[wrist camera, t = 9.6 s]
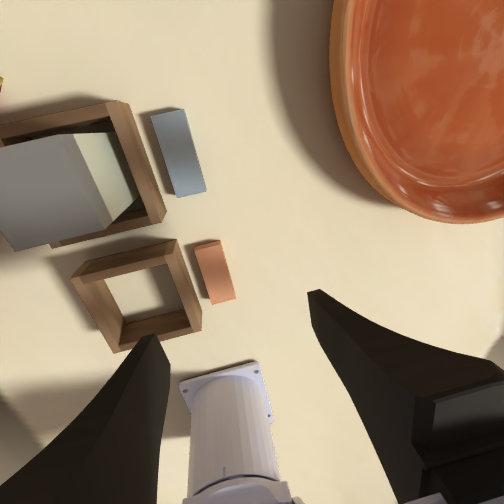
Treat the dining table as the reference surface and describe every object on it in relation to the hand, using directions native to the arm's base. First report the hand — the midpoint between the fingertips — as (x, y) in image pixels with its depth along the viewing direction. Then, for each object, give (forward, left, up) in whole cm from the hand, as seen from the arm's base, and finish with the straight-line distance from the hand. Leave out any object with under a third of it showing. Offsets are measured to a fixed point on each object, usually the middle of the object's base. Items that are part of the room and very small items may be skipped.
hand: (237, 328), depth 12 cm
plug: (+7, +7, -9) cm, 14 cm away
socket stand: (+3, +5, -9) cm, 11 cm away
